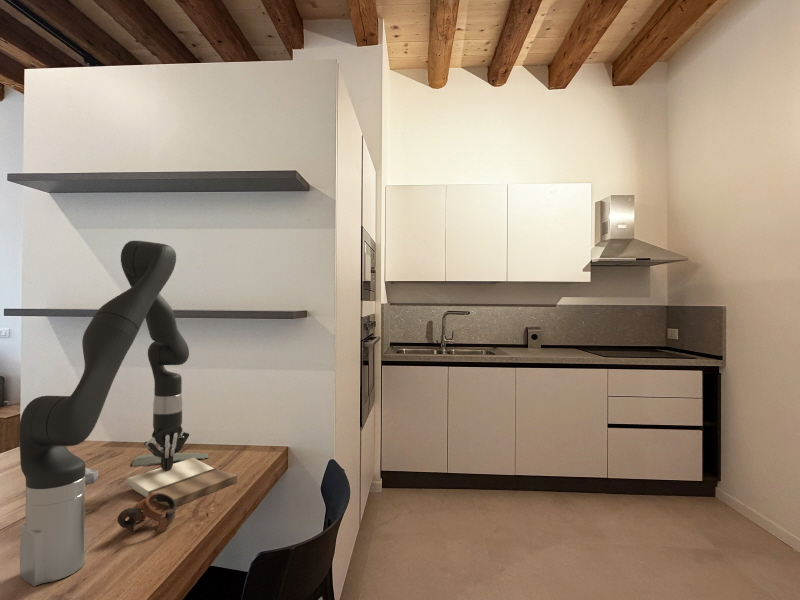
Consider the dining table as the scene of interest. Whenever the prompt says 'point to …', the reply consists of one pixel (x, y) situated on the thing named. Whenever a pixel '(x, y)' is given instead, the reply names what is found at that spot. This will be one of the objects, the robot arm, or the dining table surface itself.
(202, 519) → the dining table surface
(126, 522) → the brown ringed bracket
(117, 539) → the dining table surface
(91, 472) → the stone block
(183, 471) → the ash plank
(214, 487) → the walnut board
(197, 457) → the stone slab
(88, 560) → the dining table surface
